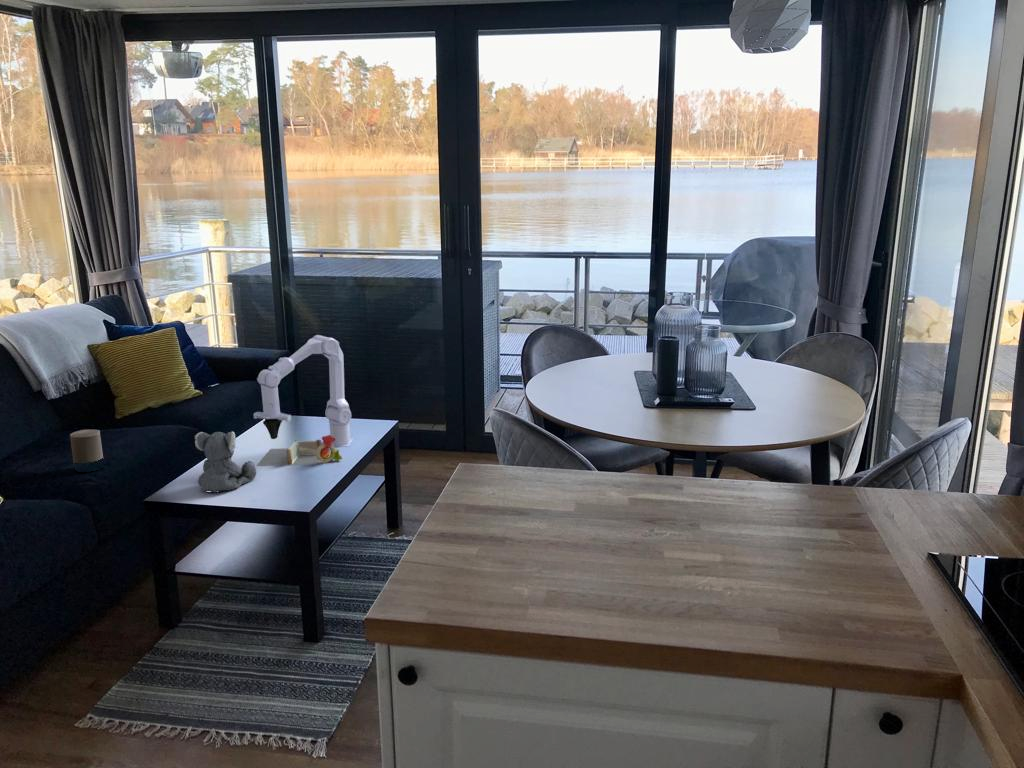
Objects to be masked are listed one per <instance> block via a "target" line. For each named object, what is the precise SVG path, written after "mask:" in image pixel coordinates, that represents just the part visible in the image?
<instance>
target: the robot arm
mask: <svg viewBox="0 0 1024 768" xmlns="http://www.w3.org/2000/svg"><path fill="white" fill-rule="evenodd" d="M320 354H321V355H323V356H324V357H325V358H327V359H328V366H329V367H328V370H329V371H328V372H329V397H330V398H329V400H328V401H327V402H326V409H325V412H324V413H325V418H326V419H327V420H328V423H329V432H330V433H329V435H331V436H332V437H333V438H335V439H336V440H335V441H334V442H333V443H331V444H332V445H333V446H334V448H340V447H341V448H342V447H343V448H345V447H350V445H351V443H352V441H353V439H354V438H351V430H350V429H351V427H350V421H351V419H352V412H351V409H350V405H349V403H348V401H347V400H346V398H345V397H346V396H345V367H344V365H345V363H344V359H345V358H344V353H343V351H342V349H341V347H340V342H339V341H338V340H336V339H335V338H333V337H327V336H325V335H320V334H316V335H314V336H313V337H312V338H309V339H308V340H307V342H306V343H305V344H304V345H303V346H301V347H300V348H299V349H298V350H296V351H295V352H294V353H292V355H290V356H289V357H286V356H284V357H280V358H279V359H278V361H277V362H275V363H273V365H269V366H268V369H262V370H261V371H260V372H258V373H259V374H258V376H257V378H256V380H257V383H258V384H260V389H261V390H260V391H261V399H262V401H261V402H262V410H263V411H262V412H261V411H256V412H254V413H253V419H255V420H257V419H264V420H263V421H262V423H263V425H264V426H265V428H266V429H267V431H268V434H269V436H270V439H271V440H275V439H277V438H278V437H279V436H278V435H279V430H280V426H281V425H282V422H283V421H285V422H290V421H292V415H291V414H287V413H284V412H281V409H280V398H279V387H278V386H279V384H280V383H281V381H282V379H283V378H284V377H286V376H287V375H288V374H290V373H291V372H293V371H294V370H295V367H296V365H297V364H298V363H300V362H301V361H303V360H305V359H306V358H308V357H309V356H312V355H320Z"/></svg>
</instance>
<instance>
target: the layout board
mask: <svg viewBox="0 0 1024 768" xmlns="http://www.w3.org/2000/svg"><path fill="white" fill-rule="evenodd" d="M289 448H290V447H289ZM289 448H270V449H269V450H268V451H267V453H265V454H264V456H263V457H262V458H261V459H260V460H259V462H258V463H257V464H256V466H255V467H272V466H276V467H277V466H279V467H280V466H283V467H284V466H285V467H286V466H316V465H318V464H319V462H320V460H319V459H318V458H317V456H316V454H299V447H298V455H297V456H296V458H295V459H294V460H293V462H292V464H288V462H287V451H286V450H287V449H289ZM323 449H324V448H323Z"/></svg>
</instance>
